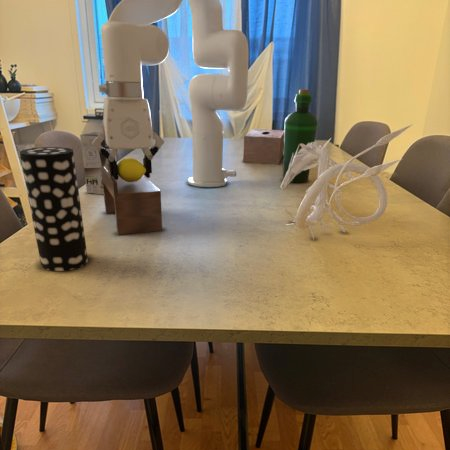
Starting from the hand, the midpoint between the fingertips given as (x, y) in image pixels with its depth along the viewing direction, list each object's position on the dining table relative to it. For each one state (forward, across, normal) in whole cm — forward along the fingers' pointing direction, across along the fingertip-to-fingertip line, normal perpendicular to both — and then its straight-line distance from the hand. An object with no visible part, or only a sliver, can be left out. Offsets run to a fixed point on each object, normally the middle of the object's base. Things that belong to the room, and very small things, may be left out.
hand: (131, 176), depth 99 cm
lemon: (+1, 0, 0) cm, 1 cm away
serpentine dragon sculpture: (+11, +40, -23) cm, 47 cm away
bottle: (+11, +60, +27) cm, 67 cm away
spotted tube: (+11, -18, -21) cm, 29 cm away
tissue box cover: (+11, +70, +70) cm, 100 cm away
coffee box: (+11, -3, +32) cm, 34 cm away
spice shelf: (+10, -1, 0) cm, 10 cm away
